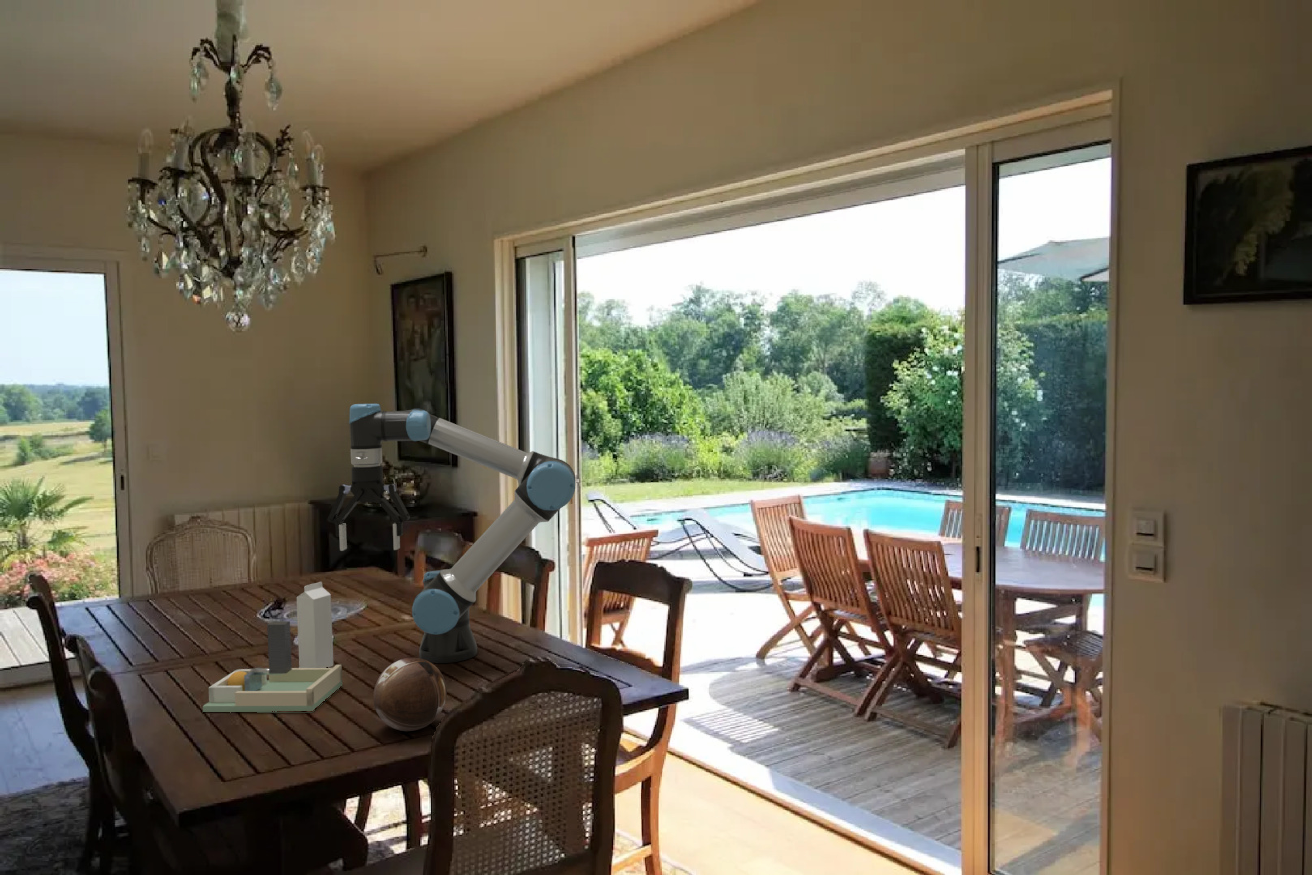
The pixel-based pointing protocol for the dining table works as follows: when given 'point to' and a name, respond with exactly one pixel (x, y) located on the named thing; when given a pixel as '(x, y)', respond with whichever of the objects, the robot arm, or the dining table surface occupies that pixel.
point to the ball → (237, 679)
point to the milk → (315, 627)
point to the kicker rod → (273, 655)
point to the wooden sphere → (410, 694)
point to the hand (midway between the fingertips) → (370, 549)
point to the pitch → (277, 691)
